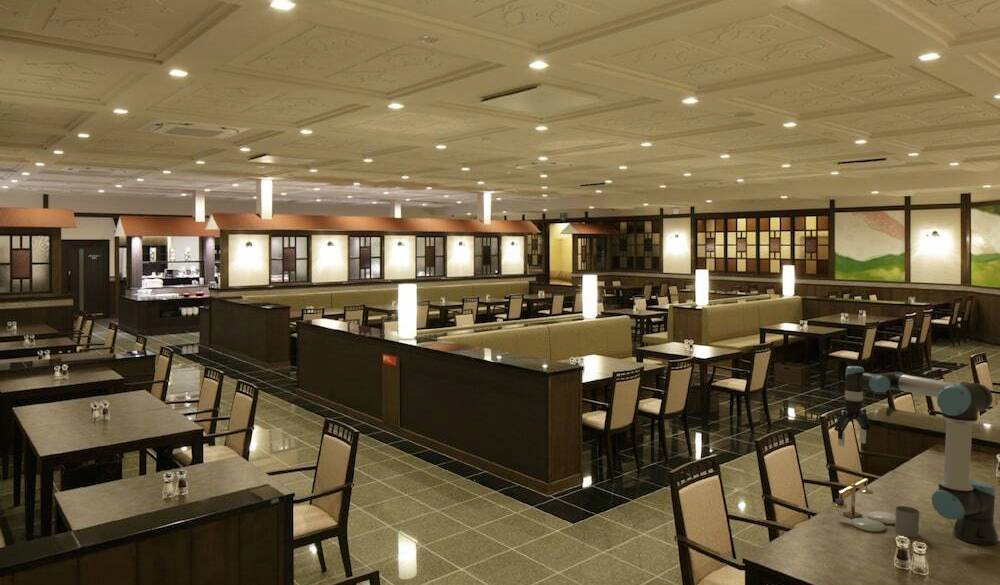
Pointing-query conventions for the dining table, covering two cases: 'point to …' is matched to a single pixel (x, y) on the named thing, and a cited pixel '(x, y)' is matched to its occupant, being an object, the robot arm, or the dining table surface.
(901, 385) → the robot arm
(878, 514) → the white dome
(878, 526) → the dish green
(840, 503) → the balance
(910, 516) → the cup
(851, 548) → the dining table surface
